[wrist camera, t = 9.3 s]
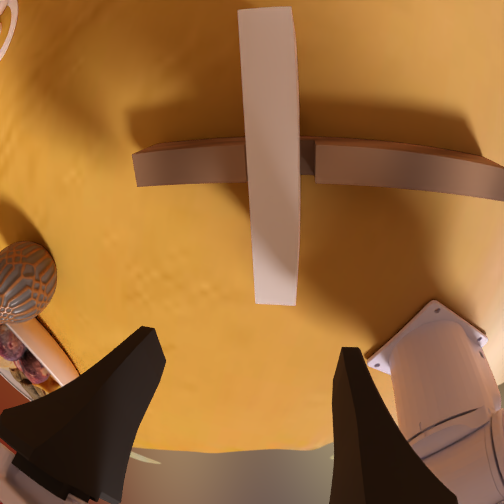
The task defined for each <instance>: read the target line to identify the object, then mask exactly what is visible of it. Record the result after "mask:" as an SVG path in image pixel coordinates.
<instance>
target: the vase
mask: <svg viewBox="0 0 504 504" xmlns="http://www.w3.org/2000/svg"><path fill="white" fill-rule="evenodd" d="M56 284H57V271H56V266H55V263H54V260H53V259H52V257H51V255H50V254H49V252H48V251H47V250H46V249H45V248H44V247H42V246H41V245H39V244H37V243H34V242H31V241H20V242H16V243H13V244H11V245H9V246H7V247H6V248H4V249H3V250H2V251H1V252H0V324H7V323H23V322H26V321H29V320H31V319H33V318H34V317H36V316H37V315H38V314H40V313H41V312H42V311H43V310H44V309H45V307H46V306H47V305H48V304H49V302H50V300H51V299H52V297H53V294H54V292H55V289H56Z"/></svg>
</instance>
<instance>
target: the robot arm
mask: <svg viewBox="0 0 504 504" xmlns="http://www.w3.org/2000/svg"><path fill="white" fill-rule="evenodd" d="M437 308H438V309H437ZM435 309H437V310H435ZM487 342H488V338H487V336H486V335H484V334H483V333H482V332H480V331H479V330H478V329H476V328H475V327H474V326H472V325H471V324H469V323H468V322H467V321H465V320H464V319H462V318H461V317H460V316H458V315H457V314H455V313H454V312H453V311H451V310H450V309H448V308H447V307H445V306H444V305H442V304H441V303H440V302H438V301H437V300H432V301H430V302H429V303H428V304H427V305H426V306H425V307H424V308H423V309H422V310H421V311H420V312H419V313H418V314H417V315H416V316H415V317H414V318H413V319H412V320H411V321H410V322H409V323H408V324H407V325H405V326H404V327H403V328H402V329H401V330H400V331H399V332H398V333H397V334H396V335H395V336H394V337H393V338H392V339H390V340H389V341H388V342H387V343H386V344H385V345H384V346H383V347H381V348H380V349H379V350H378V351H377V352H376V353H375V354H373V355H372V356H371V357H370V358H369V359H368V360H367V365H368V366H369V367H372V368H374V369H377V370H379V371H382V372H384V373H387V374H389V375H391V378H392V384H393V390H394V396H395V403H396V410H397V417H398V425H399V428H398V426H397V425H396V423H395V421H394V420H393V418H392V416H391V415H390V413H389V411H388V409H387V407H386V406H385V404H384V402H383V400H382V398H381V396H380V394H379V392H378V390H377V388H376V386H375V384H374V382H373V379H372V377H371V375H370V373H369V371H368V368H367V366H366V363H365V361H364V358H363V356H362V353H361V350H360V349H359V348H358V347H342V348H341V352H340V356H339V360H338V364H337V368H336V371H335V375H334V378H333V393H332V413H333V433H334V468H333V479H332V487H331V495H330V502H329V504H504V408H501V409H500V407H501V396H500V392H499V390H498V387H497V384H496V381H495V379H494V376H493V374H492V371H491V369H490V366H489V364H488V361H487V359H486V357H485V354H484V352H483V350H482V347H483V346H484V345H485V344H486V343H487ZM165 363H166V359H165V356H164V354H163V351H162V348H161V345H160V342H159V340H158V337H157V334H156V331H155V328H150V327H145V326H141V327H140V328H139V329H137V330H136V331H135V332H134V333H133V334H131V335H130V336H129V337H128V338H127V339H126V340H124V341H123V342H122V343H121V344H120V345H119V346H117V347H116V348H115V349H114V350H113V351H111V352H110V353H109V354H108V355H106V356H105V357H104V358H103V359H102V360H100V361H99V362H98V363H96V364H95V365H94V366H92V367H91V368H90V369H88V370H87V371H86V372H84V373H83V374H81V375H80V376H79V377H77V378H76V379H74V380H72V381H71V382H69V383H68V384H66V385H64V386H62V387H61V388H59V389H57V390H55V391H53V392H51V393H49V394H47V395H45V396H43V397H40V398H38V399H36V400H33V401H31V402H28V403H25V404H22V405H19V406H16V407H13V408H9V409H5V410H3V412H2V414H1V415H0V438H1V439H3V440H4V441H5V442H6V443H7V444H8V445H9V446H11V447H12V448H13V449H14V450H16V451H17V453H16V455H15V454H13V453H12V452H11V451H10V450H9V449H7V448H6V447H5V446H4V445H3V444H1V443H0V500H1V502H2V503H3V504H88V501H89V499H91V500H93V501H95V502H97V501H98V499H99V498H100V499H103V500H105V501H107V502H109V503H111V504H119V503H121V498H122V490H123V483H124V478H125V473H126V469H127V464H128V460H129V456H130V453H131V449H132V446H133V442H134V439H135V436H136V433H137V430H138V428H139V425H140V423H141V421H142V419H143V416H144V414H145V412H146V410H147V408H148V406H149V404H150V402H151V400H152V397H153V395H154V393H155V391H156V389H157V387H158V384H159V382H160V379H161V376H162V373H163V370H164V367H165Z"/></svg>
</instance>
